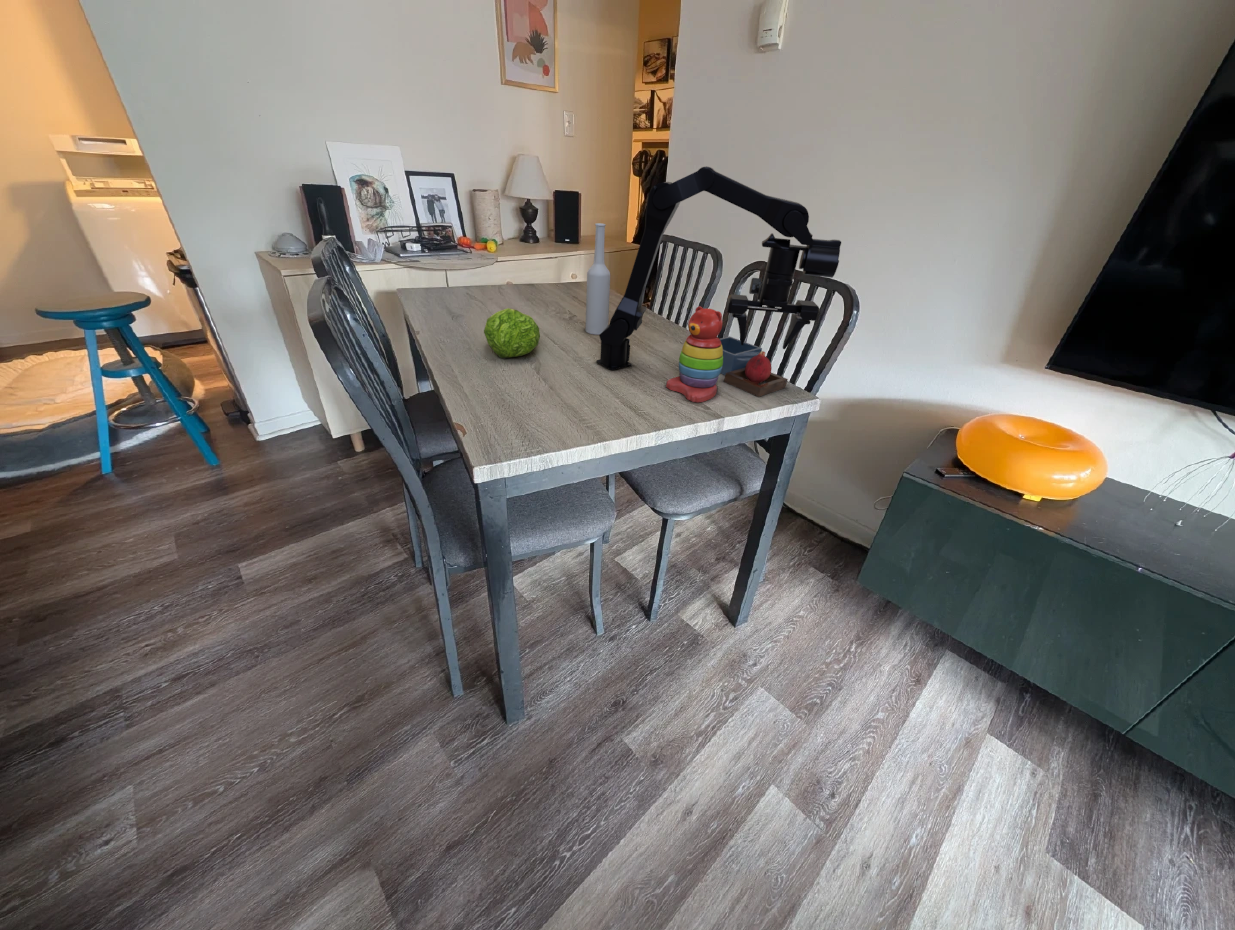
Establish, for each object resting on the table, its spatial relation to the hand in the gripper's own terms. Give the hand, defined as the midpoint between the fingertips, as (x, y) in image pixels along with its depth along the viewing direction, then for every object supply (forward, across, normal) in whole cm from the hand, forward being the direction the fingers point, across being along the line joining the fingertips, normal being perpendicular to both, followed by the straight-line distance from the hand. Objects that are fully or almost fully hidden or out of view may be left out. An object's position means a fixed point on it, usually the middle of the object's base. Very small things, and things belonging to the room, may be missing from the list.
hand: (762, 346), depth 105 cm
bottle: (+9, +42, -29) cm, 52 cm away
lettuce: (+9, +61, -9) cm, 62 cm away
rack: (+9, 0, 0) cm, 9 cm away
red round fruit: (+9, 0, 0) cm, 9 cm away
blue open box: (+9, +5, -10) cm, 15 cm away
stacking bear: (+9, +14, +7) cm, 18 cm away
